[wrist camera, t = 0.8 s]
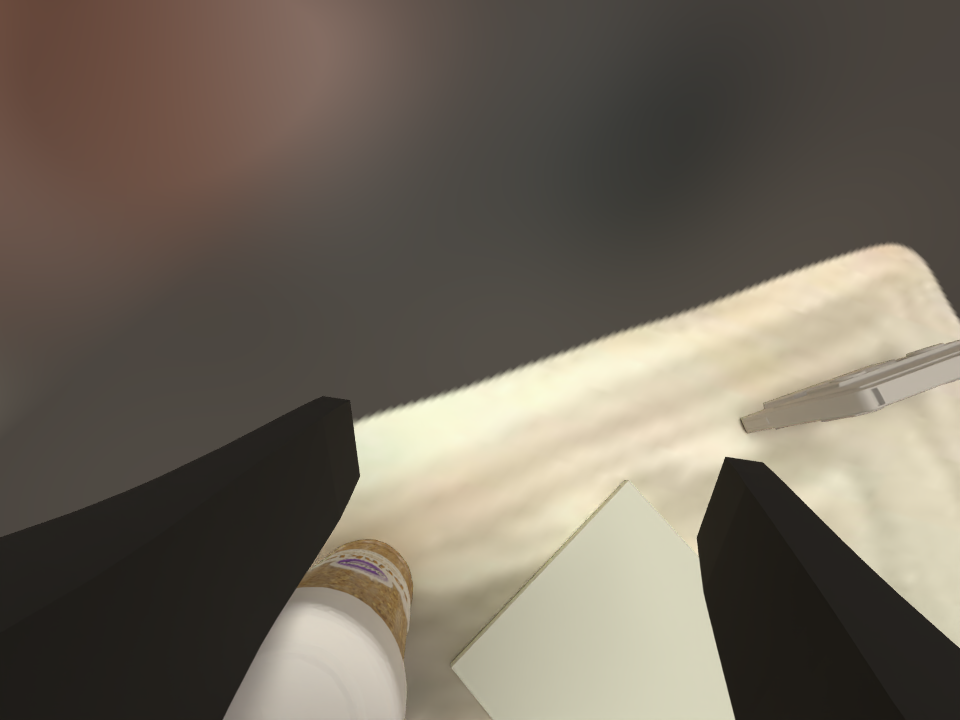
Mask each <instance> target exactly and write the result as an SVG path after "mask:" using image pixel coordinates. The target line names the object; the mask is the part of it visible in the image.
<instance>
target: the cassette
mask: <svg viewBox="0 0 960 720" xmlns="http://www.w3.org/2000/svg"><path fill="white" fill-rule="evenodd" d="M959 379H960V340H957V341H953V342H950V343H946V344H944V343H941V344H937V345H933V346H930V347H927V348H923V349H920V350H917V351H914V352H911V353H908V354H906V357H903V358H900V359H897V360H890V361H887V362H883V363H879V364H875V365H870V366H868V367H865V368H862V369H859V370H856V371H853V372H850V373H848V374H845V375H842V376H839V377H836V378H833V379H830V380H828V381H825V382H822V383H819V384H816V385H813V386H811V387H808V388H805V389H802V390H799V391H796V392H793V393H791V394H788V395H785V396H782V397H779V398H776V399H773V400H771V401H768V402H765V403H763V405H764V410H762V411H759V412H756V413H754V414H751V415H748V416H745V417H742V418H741V420H742V422H743V425H744V427H745V429H746V431H747V433H750V432H756V431H761V430H767V429H772V428H775V429H779V428H784V427H788V426H792V425H798V424H803V423H809V422H815V421H820V420H821V422H825V421H831V420H837V419H843V418H848V417H854V416H859V415H863V414H867V413H871V412H874V411H877V410H880V409H882V408H884V407H885V406H887V405H890V404H893V403H895V402H898V401H900V400H903V399H906V398H908V397H911V396H914V395H916V394H919V393H922V392H924V391H927V390H930V389H932V388H935V387H938V386H940V385H943V384H947V383H950V382H954V381H957V380H959Z"/></svg>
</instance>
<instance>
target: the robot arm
mask: <svg viewBox="0 0 960 720" xmlns="http://www.w3.org/2000/svg"><path fill="white" fill-rule="evenodd" d="M359 477H360V473H359V465H358V457H357V450H356V442H355V435H354V427H353V420H352V413H351V405H350V400H345V399H338V398H331V397H325V396H322V397H320V398H318V399H315V400H313V401H311V402H309V403H307V404H305V405H303V406H301V407H299V408H297V409H295V410H293V411H291V412H289V413H287V414H285V415H283V416H281V417H279V418H277V419H275V420H273V421H272V422H269V423H268V424H266V425H264V426H262V427H260V428H258V429H256V430H254V431H252V432H250V433H248V434H246V435H244V436H242V437H241V438H239V439H237V440H235V441H233V442H231V443H229V444H227V445H225V446H223V447H221V448H219V449H217V450H215V451H213V452H211V453H209V454H206V455H204V456H202V457H200V458H198V459H196V460H194V461H192V462H190V463H188V464H185V465H184V466H181V467H179V468H177V469H175V470H173V471H171V472H169V473H167V474H164V475H163V476H160V477H158V478H156V479H153V480H151V481H149V482H147V483H144V484H142V485H140V486H138V487H135V488H133V489H130V490H128V491H126V492H123V493H121V494H118V495H116V496H113V497H111V498H108V499H106V500H103V501H101V502H98V503H96V504H93V505H91V506H88V507H85V508H83V509H80V510H78V511H75V512H72V513H70V514H67V515H64V516H61V517H58V518H55V519H52V520H49V521H47V522H44V523H41V524H38V525H35V526H32V527H29V528H26V529H24V530H21V531H18V532H15V533H12V534H9V535H6V536H3V537H0V720H223V718H224V716H225V714H226V712H227V710H228V708H229V706H230V704H231V702H232V700H233V698H234V696H235V694H236V692H237V691H238V689H239V687H240V685H241V683H242V681H243V679H244V677H245V675H246V673H247V671H248V669H249V667H250V666H251V664H252V662H253V660H254V658H255V656H256V654H257V652H258V650H259V648H260V646H261V645H262V643H263V641H264V639H265V638H266V636H267V634H268V633H269V631H270V629H271V628H272V626H273V624H274V622H275V621H276V619H277V618H278V616H279V615H280V613H281V611H282V610H283V608H284V607H285V605H286V604H287V602H288V600H289V599H290V597H291V596H292V594H293V593H294V591H295V590H296V588H297V586H298V585H299V583H300V582H301V580H302V579H303V577H304V575H305V574H306V572H307V571H308V569H309V568H310V566H311V565H312V563H313V561H314V560H315V558H316V557H317V555H318V554H319V552H320V550H321V549H322V547H323V546H324V544H325V543H326V541H327V539H328V538H329V536H330V535H331V533H332V531H333V530H334V528H335V527H336V525H337V523H338V522H339V520H340V518H341V516H342V514H343V512H344V510H345V508H346V506H347V504H348V502H349V500H350V497H351V495H352V493H353V491H354V488H355V486H356V484H357V482H358V480H359ZM697 544H698V553H699V562H700V571H701V578H702V586H703V593H704V597H705V601H706V606H707V610H708V614H709V618H710V622H711V626H712V630H713V634H714V638H715V642H716V646H717V650H718V654H719V658H720V662H721V666H722V670H723V674H724V678H725V682H726V686H727V690H728V694H729V698H730V701H731V705H732V709H733V713H734V717H735V720H960V648H959V647H958V646H957V645H955V644H954V643H953V642H952V641H951V640H950V639H949V638H947V637H946V636H945V635H944V634H943V633H942V632H941V631H940V630H938V629H937V628H936V627H935V626H934V625H933V624H932V623H931V622H929V621H928V620H927V619H926V618H925V617H924V616H923V615H922V614H920V613H919V612H918V611H917V610H916V609H915V608H914V607H913V606H911V605H910V604H909V603H908V602H907V601H906V600H905V599H904V598H902V597H901V596H900V595H899V594H898V593H897V592H896V591H895V590H894V589H893V588H892V587H891V586H890V585H888V584H887V583H886V582H885V581H884V580H883V579H882V578H881V577H880V576H879V575H878V574H877V573H876V572H875V571H873V570H872V569H871V568H870V567H869V566H868V565H867V564H866V563H865V562H864V561H863V560H862V559H861V558H860V557H859V556H858V555H857V554H856V553H855V552H854V551H853V550H852V549H851V548H849V547H848V546H847V545H846V544H845V543H844V542H843V541H842V540H841V539H840V538H839V537H838V536H837V535H836V534H835V533H834V532H833V531H832V530H831V529H830V528H829V527H828V526H827V525H826V524H825V523H824V522H823V521H822V520H821V519H820V518H819V517H818V516H817V515H816V514H815V513H814V512H813V511H812V510H811V509H810V508H809V507H808V506H807V505H806V504H805V503H804V502H803V501H802V500H801V499H800V498H799V497H798V496H797V495H796V494H795V493H794V492H793V491H792V490H791V489H790V488H789V487H788V486H787V485H786V484H785V483H784V482H783V481H782V480H781V479H780V478H779V477H778V476H777V475H776V474H775V473H774V472H773V471H772V470H770V469H769V468H768V467H767V466H766V465H765V464H764V463H763V462H756V461H750V460H743V459H736V458H730V457H725V459H724V462H723V465H722V468H721V471H720V474H719V476H718V479H717V482H716V485H715V488H714V490H713V493H712V496H711V499H710V502H709V504H708V507H707V510H706V513H705V516H704V519H703V521H702V524H701V527H700V530H699V533H698V535H697Z"/></svg>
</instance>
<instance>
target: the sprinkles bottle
mask: <svg viewBox="0 0 960 720" xmlns="http://www.w3.org/2000/svg"><path fill="white" fill-rule="evenodd" d="M412 593H413V583H412V580H411V574H410V570H409V567H408V565H407V563H406V562H405V560H404V559H403V558H402V557H401V555H400V554H399V553H398V552H397V551H395V550H394V549H393V548H392V547H390V546H389V545H387V544H386V543H383V542H379V541H377V540H358V541H354V542H351V543H348V544H345V545H343V546H341V547H339V548H338V549H336V550H335V551H334V552H333V553H332V554H330V555H329V556H328V557H327V558H326V559H324V560H323V561H321V562H320V563H318V564H317V565H316V566H314V567H313V568H311V569H310V570H308V571H307V572H306V574H305V575H304V577H303V579H302V580H301V582H300V583H299V585H298V586H297V588H296V590H295V591H294V593H293V594H292V596H291V597H290V599H289V600H288V602H287V604H286V605H285V607H284V608H283V610H282V611H281V613H280V615H279V616H278V618H277V619H276V621H275V622H274V624H273V626H272V628H271V629H270V631H269V633H268V634H267V636H266V638H265V639H264V641H263V643H262V645H261V646H260V648H259V650H258V652H257V654H256V656H255V658H254V660H253V662H252V664H251V666H250V667H249V669H248V671H247V673H246V675H245V677H244V679H243V681H242V683H241V685H240V687H239V689H238V691H237V692H236V694H235V696H234V698H233V700H232V702H231V704H230V706H229V708H228V710H227V712H226V714H225V716H224V718H223V720H405V713H406V701H407V683H406V672H405V667H404V663H403V659H404V652H405V642H406V636H407V634H408V630H409V621H410V606H411V602H412Z"/></svg>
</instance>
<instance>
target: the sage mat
mask: <svg viewBox="0 0 960 720" xmlns="http://www.w3.org/2000/svg"><path fill="white" fill-rule="evenodd" d="M451 668H452V669H453V671H454V672H455V673H456V674H457V676H458V677H459V678H460V679H461V681H462V682H463V683H464V684H465V686H466V687H467V688H468V689H469V691H470V692H471V693H472V694H473V696H474V697H475V698H476V699H477V701H478V702H479V703H480V704H481V706H482V707H483V708H484V709H485V711H486V712H487V713H488V714H489V716H490V717H491V718H492V719H493V720H735V717H734V713H733V709H732V705H731V701H730V698H729V694H728V690H727V686H726V682H725V678H724V674H723V670H722V666H721V662H720V658H719V654H718V650H717V646H716V642H715V638H714V634H713V630H712V626H711V622H710V618H709V614H708V610H707V606H706V601H705V597H704V593H703V586H702V578H701V571H700V562H699V556H698V555H697V554H696V553H695V552H694V551H693V550H692V549H691V548H690V546H689V545H688V544H687V543H686V542H685V541H684V540H683V539H682V538H681V536H680V535H679V534H678V533H677V532H676V531H675V530H674V529H673V528H672V527H671V525H670V524H669V523H668V522H667V521H666V520H665V519H664V518H663V517H662V516H661V514H660V513H659V512H658V511H657V510H656V509H655V508H654V507H653V506H652V505H651V503H650V502H649V501H648V500H647V499H646V498H645V497H644V496H643V495H642V494H641V492H640V491H639V490H638V489H637V488H636V487H635V486H634V485H633V484H632V483H631V481H630V480H625V481H624V482H623V483H622V484H621V485H620V486H619V487H618V488H617V489H616V490H615V491H614V493H613V494H612V495H611V496H610V497H609V498H608V499H607V500H606V501H605V502H604V503H603V504H602V505H601V506H600V507H599V508H598V509H597V510H596V511H595V512H594V514H593V515H592V516H591V517H590V518H589V519H588V520H587V521H586V522H585V523H584V524H583V525H582V526H581V527H580V528H579V529H578V530H577V531H576V532H575V533H574V535H573V536H572V537H571V538H570V539H569V540H568V541H567V542H566V543H565V544H564V545H563V546H562V547H561V548H560V549H559V550H558V551H557V552H556V553H555V554H554V556H553V557H552V558H551V559H550V560H549V561H548V562H547V563H546V564H545V565H544V566H543V567H542V568H541V569H540V570H539V571H538V572H537V573H536V574H535V576H534V577H533V578H532V579H531V580H530V581H529V582H528V583H527V584H526V585H525V586H524V587H523V588H522V589H521V590H520V591H519V592H518V593H517V594H516V595H515V597H514V598H513V599H512V600H511V601H510V602H509V603H508V604H507V605H506V606H505V607H504V608H503V609H502V610H501V611H500V612H499V613H498V614H497V615H496V616H495V618H494V619H493V620H492V621H491V622H490V623H489V624H488V625H487V626H486V627H485V628H484V629H483V630H482V631H481V632H480V633H479V634H478V635H477V636H476V637H475V639H474V640H473V641H472V642H471V643H470V644H469V645H468V646H467V647H466V648H465V649H464V650H463V651H462V652H461V653H460V654H459V655H458V656H457V657H456V659H455V660H454V661H453V662H452V663H451Z"/></svg>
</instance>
